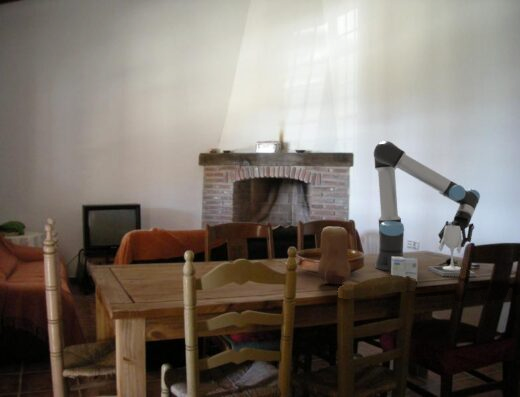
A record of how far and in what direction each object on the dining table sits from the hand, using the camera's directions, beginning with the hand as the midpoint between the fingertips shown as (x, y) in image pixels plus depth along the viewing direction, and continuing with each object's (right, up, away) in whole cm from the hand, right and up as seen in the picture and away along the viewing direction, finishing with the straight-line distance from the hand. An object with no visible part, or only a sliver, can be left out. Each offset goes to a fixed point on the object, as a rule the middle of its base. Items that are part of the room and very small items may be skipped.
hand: (448, 250), depth 236 cm
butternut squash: (-59, -12, -26) cm, 66 cm away
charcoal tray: (+2, -12, +3) cm, 12 cm away
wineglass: (+3, -10, +3) cm, 11 cm away
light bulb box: (-27, -12, -18) cm, 35 cm away
